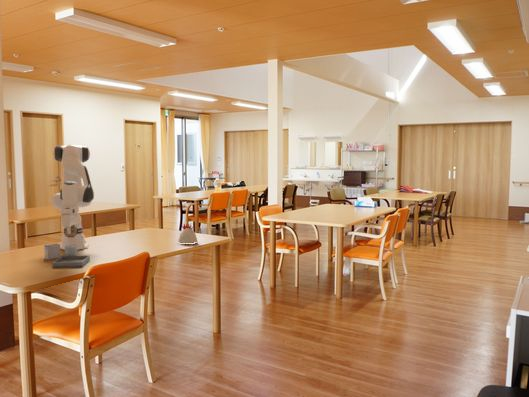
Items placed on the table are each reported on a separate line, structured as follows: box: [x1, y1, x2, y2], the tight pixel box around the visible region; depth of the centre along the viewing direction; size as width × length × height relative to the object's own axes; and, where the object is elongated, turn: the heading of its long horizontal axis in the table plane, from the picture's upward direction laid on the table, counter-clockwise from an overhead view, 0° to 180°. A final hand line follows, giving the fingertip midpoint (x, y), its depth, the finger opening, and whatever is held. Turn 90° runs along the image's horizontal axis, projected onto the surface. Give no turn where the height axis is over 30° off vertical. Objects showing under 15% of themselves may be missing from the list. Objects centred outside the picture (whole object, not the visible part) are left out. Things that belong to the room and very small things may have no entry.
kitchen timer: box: [177, 223, 198, 243], centre depth 337 cm, size 14×14×15 cm
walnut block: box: [65, 227, 77, 236], centre depth 267 cm, size 5×5×5 cm
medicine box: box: [44, 242, 61, 260], centre depth 283 cm, size 8×4×9 cm, turn 141°
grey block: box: [64, 245, 78, 256], centre depth 280 cm, size 7×7×8 cm
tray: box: [51, 255, 91, 269], centre depth 268 cm, size 18×16×3 cm
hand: (71, 232), depth 267 cm, fingers closed on walnut block, 5 cm apart
